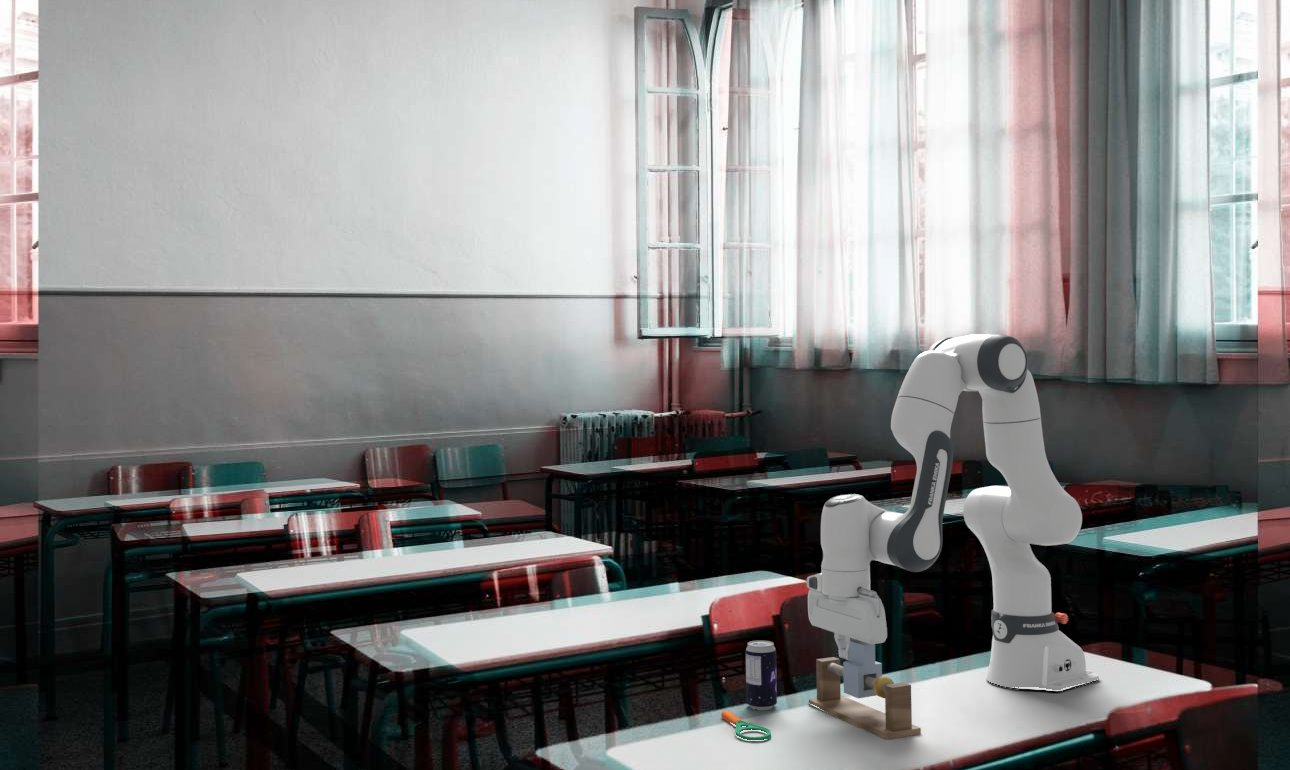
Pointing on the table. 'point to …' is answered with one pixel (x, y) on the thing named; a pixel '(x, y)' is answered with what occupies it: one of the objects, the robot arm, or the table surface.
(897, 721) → the wooden rod rail
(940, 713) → the table surface
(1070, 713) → the table surface
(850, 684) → the stacked grey blocks
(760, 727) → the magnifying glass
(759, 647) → the beverage can
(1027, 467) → the robot arm
